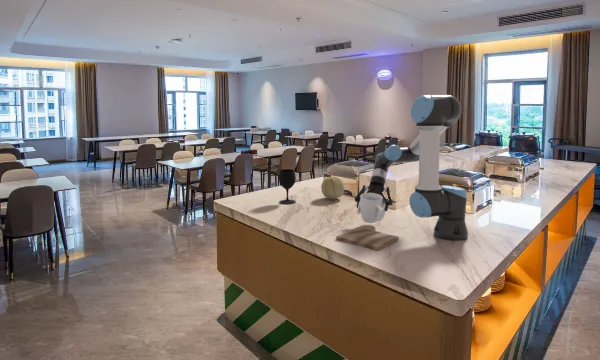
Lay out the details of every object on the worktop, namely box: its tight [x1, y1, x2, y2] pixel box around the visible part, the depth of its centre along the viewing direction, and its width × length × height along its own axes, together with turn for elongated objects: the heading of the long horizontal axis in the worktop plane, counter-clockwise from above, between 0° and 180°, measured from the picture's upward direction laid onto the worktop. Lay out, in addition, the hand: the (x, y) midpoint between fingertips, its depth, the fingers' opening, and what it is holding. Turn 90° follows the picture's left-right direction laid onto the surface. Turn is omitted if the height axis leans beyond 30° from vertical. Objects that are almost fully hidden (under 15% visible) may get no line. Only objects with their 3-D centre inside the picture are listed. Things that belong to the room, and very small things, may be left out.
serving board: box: [335, 227, 400, 251], centre depth 194 cm, size 22×18×2 cm
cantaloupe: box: [320, 175, 345, 200], centre depth 268 cm, size 15×15×15 cm
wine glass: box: [278, 168, 297, 205], centre depth 260 cm, size 10×10×20 cm
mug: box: [360, 192, 383, 224], centre depth 211 cm, size 15×11×13 cm
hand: (370, 214), depth 211 cm, fingers closed on mug, 12 cm apart
